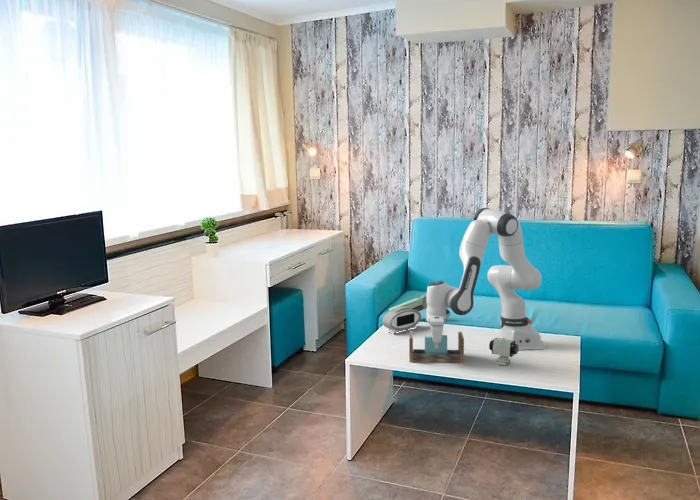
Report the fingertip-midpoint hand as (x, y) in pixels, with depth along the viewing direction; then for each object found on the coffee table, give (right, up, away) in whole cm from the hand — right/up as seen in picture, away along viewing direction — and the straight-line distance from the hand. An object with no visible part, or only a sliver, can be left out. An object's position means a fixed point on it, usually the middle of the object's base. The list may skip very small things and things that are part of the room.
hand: (436, 346), depth 271 cm
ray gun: (0, +3, +68) cm, 68 cm away
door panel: (0, -3, 0) cm, 3 cm away
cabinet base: (0, -6, +1) cm, 6 cm away
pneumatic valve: (+28, -7, -9) cm, 30 cm away
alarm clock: (-11, +1, +48) cm, 49 cm away
